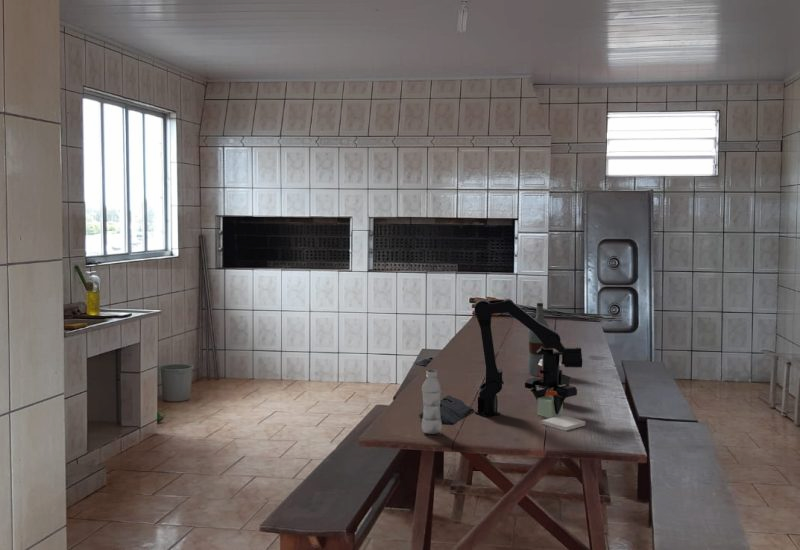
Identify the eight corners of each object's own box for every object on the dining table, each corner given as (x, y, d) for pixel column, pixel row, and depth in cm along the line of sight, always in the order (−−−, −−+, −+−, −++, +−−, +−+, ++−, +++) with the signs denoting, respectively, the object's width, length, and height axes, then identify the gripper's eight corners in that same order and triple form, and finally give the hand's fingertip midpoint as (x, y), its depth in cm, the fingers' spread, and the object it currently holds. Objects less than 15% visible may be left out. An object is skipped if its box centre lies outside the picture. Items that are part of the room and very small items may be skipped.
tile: (565, 430, 261) (565, 427, 260) (541, 423, 268) (541, 420, 268) (585, 425, 267) (585, 421, 267) (561, 418, 275) (561, 415, 274)
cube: (550, 419, 274) (551, 401, 274) (537, 415, 279) (537, 398, 278) (562, 415, 278) (562, 398, 277) (548, 412, 283) (549, 395, 282)
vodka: (553, 373, 343) (554, 302, 340) (545, 377, 336) (546, 305, 333) (532, 370, 348) (533, 301, 345) (523, 374, 341) (525, 303, 338)
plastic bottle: (440, 430, 261) (441, 368, 259) (442, 436, 254) (443, 373, 252) (420, 430, 261) (421, 368, 259) (422, 436, 254) (422, 373, 252)
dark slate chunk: (411, 421, 273) (411, 407, 272) (436, 406, 293) (436, 393, 292) (453, 427, 266) (454, 412, 266) (476, 410, 286) (476, 397, 286)
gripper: (588, 368, 275) (586, 413, 276) (545, 359, 289) (544, 402, 291) (566, 372, 268) (565, 419, 269) (523, 363, 282) (523, 408, 283)
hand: (549, 412), depth 278 cm, fingers closed on cube, 6 cm apart
